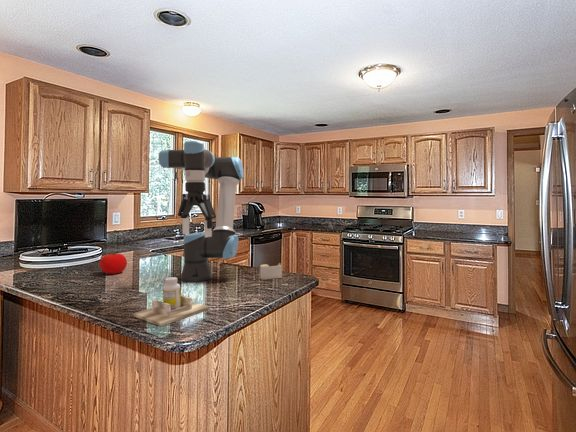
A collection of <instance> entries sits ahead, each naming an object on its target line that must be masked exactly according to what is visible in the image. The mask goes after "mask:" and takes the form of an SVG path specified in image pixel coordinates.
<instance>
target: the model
mask: <svg viewBox="0 0 576 432" xmlns="http://www.w3.org/2000/svg"><path fill="white" fill-rule="evenodd" d="M282 264H283V263H282V262H279V263H278V264H277V265H272V266H271V265H269V264H260V266H259V279H260V280H261V281H264V280H273V279H280V278H281V279H282V278H283V265H282Z"/></svg>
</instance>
